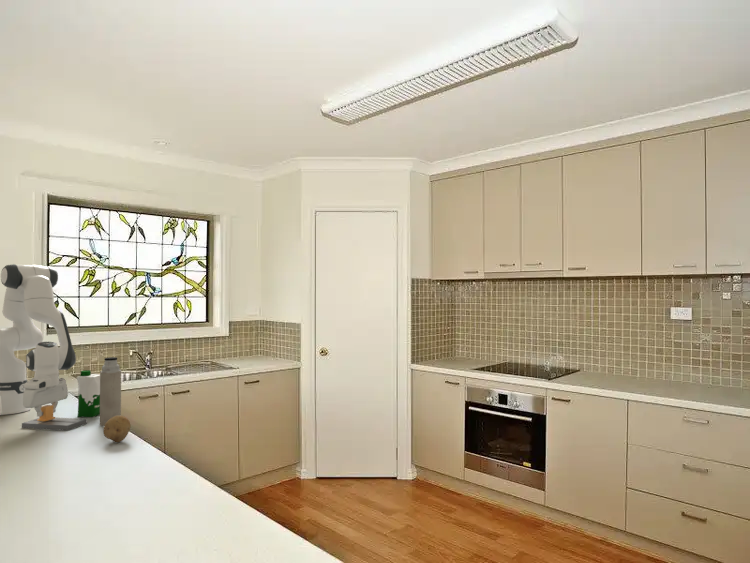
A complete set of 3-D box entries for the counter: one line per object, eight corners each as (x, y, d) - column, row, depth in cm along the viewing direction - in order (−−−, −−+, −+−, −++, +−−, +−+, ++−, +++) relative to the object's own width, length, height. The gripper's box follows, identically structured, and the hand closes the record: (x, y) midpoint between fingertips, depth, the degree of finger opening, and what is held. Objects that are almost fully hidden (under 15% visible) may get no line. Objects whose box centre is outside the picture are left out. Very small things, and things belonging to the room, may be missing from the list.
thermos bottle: (107, 421, 225) (107, 356, 225) (124, 421, 224) (125, 356, 225) (95, 426, 217) (96, 358, 218) (113, 426, 216) (114, 358, 217)
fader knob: (37, 420, 216) (37, 407, 216) (46, 417, 221) (47, 404, 221) (45, 421, 215) (45, 407, 215) (55, 418, 220) (55, 405, 220)
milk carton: (85, 412, 240) (86, 369, 241) (105, 413, 240) (105, 369, 240) (74, 417, 231) (74, 372, 232) (94, 417, 231) (94, 372, 232)
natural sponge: (119, 447, 188) (119, 419, 188) (97, 445, 190) (97, 418, 190) (135, 440, 197) (135, 413, 197) (114, 438, 199) (114, 412, 199)
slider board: (21, 428, 214) (21, 422, 214) (43, 421, 224) (43, 416, 225) (67, 430, 210) (67, 425, 210) (86, 423, 221) (86, 418, 221)
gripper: (59, 376, 229) (58, 408, 229) (19, 385, 209) (19, 419, 209) (71, 377, 228) (71, 409, 228) (33, 385, 208) (33, 420, 208)
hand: (46, 414), depth 218 cm, fingers open, 5 cm apart
